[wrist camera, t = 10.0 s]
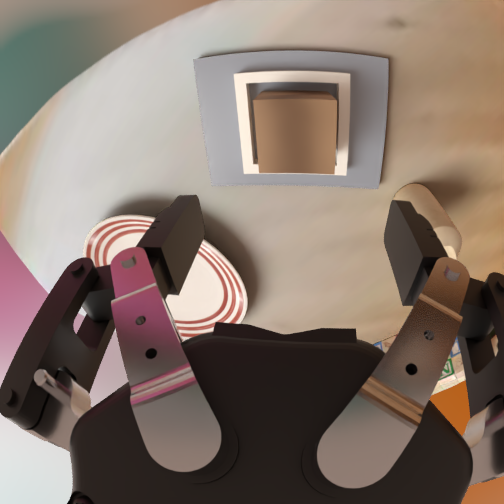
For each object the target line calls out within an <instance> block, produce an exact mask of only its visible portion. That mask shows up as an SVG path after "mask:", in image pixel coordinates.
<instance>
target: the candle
mask: <svg viewBox="0 0 504 504" xmlns="http://www.w3.org/2000/svg"><path fill="white" fill-rule="evenodd" d="M393 200H403V201H410V202H411V203H412V205H413V207H414V208H415V210H416V212H417V213H418V214H421V215H423V216H424V217H425V218H426V219H427V220H428V221H429V222H430V224H431V225H432V227H433V229H434V231H435V232H436V234H437V238H439V239H440V241H441V243H442V245H443V247H444V249H445V250H446V252H447V254H448V256H449V257H450V258H453V259H456V260H457V257H458V254H459V252H460V249H461V246H462V238H461V235H460V233H459V231H458V230H457V228H456V227H455V225H454V224H453V222H452V221H451V219H450V218H449V216H448V215H447V213H446V212H445V211H444V209H443V208H442V207H441V205H440V204H439V202H438V201H437V200H436V198H435V197H434V196H433V194H432V193H431V192H430V191H429V190H428V189H427V188H426V187H425V186H423V185H421V184H415V183H414V184H408V185H406V186H404V187H402V188H401V189H400V190H399V191H398V192H397V193H396V194H395V196H394V198H393Z"/></svg>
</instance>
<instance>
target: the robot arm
mask: <svg viewBox="0 0 504 504" xmlns="http://www.w3.org/2000/svg"><path fill="white" fill-rule="evenodd" d="M204 233H205V229H204V223H203V218H202V213H201V208H200V203H199V199H198V197H197V195H180V196H178V197H177V198H176V200H175V201H174V203H173V204H172V205H171V207H167V208H166V209H165V210H163V211H162V212H161V213H159V214H158V216H157V217H156V218H155V220H154V222H152V224H151V225H150V227H149V229H147V231H146V232H145V234H144V235H143V237H142V238H141V239H140V241H139V242H138V244H137V245H136V247H131V248H127V249H125V250H122V251H121V252H119V253H118V254H117V255H116V256H115V257H114V258H113V259H112V261H111V264H109V265H105V266H100V267H95V265H94V263H93V261H92V259H90V258H88V257H83V258H80V259H77V260H75V261H74V262H72V263H71V264H70V265H69V266H68V267H67V268H66V269H65V271H64V272H63V274H62V275H61V277H60V278H59V280H58V281H57V283H56V284H55V286H54V287H53V289H52V290H51V292H50V293H49V295H48V297H47V298H46V300H45V301H44V303H43V305H42V306H41V308H40V310H39V311H38V313H37V315H36V317H35V318H34V320H33V322H32V324H31V325H30V327H29V329H28V331H27V333H26V334H25V336H24V338H23V340H22V342H21V344H20V346H19V348H18V350H17V352H16V354H15V356H14V359H13V360H12V362H11V365H10V367H9V369H8V371H7V373H6V376H5V378H4V380H3V383H2V385H1V388H0V413H1V414H2V415H3V416H4V417H6V418H7V419H9V420H10V421H12V422H13V423H15V424H17V425H18V426H19V427H20V428H22V429H24V430H25V431H27V432H29V433H30V434H32V435H34V436H36V437H38V438H40V439H42V440H44V441H48V442H50V443H52V444H54V445H56V446H58V447H62V448H64V449H66V450H68V451H69V452H70V457H71V463H72V474H73V489H72V495H71V497H70V500H69V501H68V503H67V504H461V502H462V499H463V497H464V496H465V493H466V491H467V489H468V487H469V486H470V485H474V484H476V483H479V482H486V481H489V480H493V479H496V478H499V477H502V476H504V275H502V274H500V273H496V272H493V273H491V274H489V276H488V278H487V279H486V281H485V282H483V281H479V280H476V279H473V278H470V275H469V272H468V270H467V269H466V267H465V266H464V265H463V264H462V263H460V262H459V261H457V260H456V259H453V258H450V257H449V256H448V254H447V252H446V250H445V249H444V247H443V245H442V243H441V241H440V239H439V238H437V234H436V232H435V231H434V229H433V227H432V225H431V224H430V222H429V221H428V220H427V219H426V218H425V217H424V216H423V215H421V214H418V213H417V212H416V210H415V208H414V207H413V205H412V203H411V202H410V201H403V200H392V202H391V205H390V209H389V214H388V219H387V223H386V228H385V233H384V244H385V248H386V251H387V254H388V257H389V260H390V263H391V266H392V270H393V273H394V276H395V280H396V283H397V287H398V290H399V294H400V297H401V301H402V305H403V306H413V309H412V310H411V312H410V314H409V316H408V318H407V319H406V321H405V323H404V325H403V326H402V328H401V330H400V331H399V333H398V335H397V336H396V338H395V340H394V341H393V343H392V344H391V346H390V347H389V349H388V351H387V352H386V353H385V352H384V351H382V350H381V349H379V348H378V347H376V346H374V345H372V344H370V343H368V342H365V341H362V340H358V339H357V337H356V329H336V328H320V329H315V330H310V331H304V332H299V333H293V334H280V333H276V332H272V331H269V330H266V329H262V328H259V327H255V326H252V325H248V324H235V323H224V322H215V326H214V329H213V332H208V333H203V334H200V335H197V336H194V337H191V338H189V339H187V340H185V341H183V339H182V337H181V335H180V333H179V330H178V328H177V326H176V323H175V321H174V319H173V316H172V314H171V312H170V309H169V307H168V304H167V302H166V298H167V296H168V295H178V296H179V294H180V292H181V289H182V287H183V284H184V282H185V280H186V278H187V275H188V273H189V271H190V268H191V266H192V264H193V262H194V259H195V257H196V255H197V253H198V250H199V248H200V246H201V244H202V242H203V239H204ZM81 306H82V307H83V309H84V310H85V311H86V313H87V314H86V316H85V318H84V320H83V322H82V324H81V326H80V328H79V330H78V332H77V334H76V333H75V332H74V328H73V323H74V319H75V317H76V316H77V314H78V312H79V310H80V308H81ZM115 328H116V333H117V337H118V342H119V346H120V351H121V355H122V359H123V362H124V367H125V370H126V374H127V378H128V380H129V382H127V383H126V384H125V385H123V386H122V387H121V388H119V389H118V390H117V391H115V392H114V393H112V394H111V395H109V396H108V397H107V398H105V399H104V400H102V401H101V402H100V403H98V404H97V405H95V406H94V407H91V406H90V404H91V400H90V396H89V393H90V390H91V388H92V385H93V382H94V379H95V377H96V374H97V371H98V369H99V366H100V364H101V361H102V359H103V356H104V354H105V351H106V349H107V346H108V344H109V342H110V339H111V337H112V335H113V332H114V330H115ZM493 328H494V329H495V333H496V336H497V339H498V344H499V347H498V352H497V354H496V356H495V353H494V349H493V346H492V342H491V339H490V335H489V333H490V332H491V331H492V329H493ZM456 337H457V339H458V343H459V348H460V352H461V357H462V362H463V367H464V373H465V379H466V385H467V392H468V399H469V407H470V418H471V419H470V420H469V422H468V424H467V427H466V431H465V433H464V434H463V436H461V435H460V434H459V432H458V431H457V430H456V429H455V428H454V427H453V426H452V425H451V423H450V422H449V421H448V420H447V419H446V418H445V417H444V415H443V414H442V413H441V412H440V411H439V410H438V409H437V408H436V406H435V405H434V404H433V403H432V402H431V401H430V400H429V399H430V396H431V395H432V393H433V391H434V389H435V387H436V385H437V383H438V380H439V378H440V376H441V374H442V372H443V369H444V367H445V365H446V362H447V360H448V357H449V355H450V353H451V350H452V347H453V345H454V342H455V339H456Z"/></svg>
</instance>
